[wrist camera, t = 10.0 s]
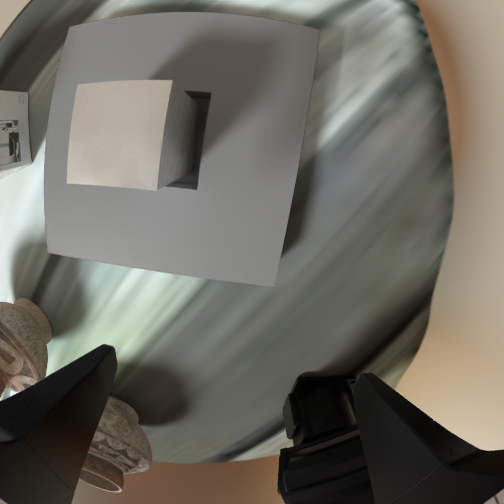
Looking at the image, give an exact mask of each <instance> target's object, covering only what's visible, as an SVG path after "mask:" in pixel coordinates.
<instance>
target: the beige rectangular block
mask: <svg viewBox="0 0 504 504" xmlns="http://www.w3.org/2000/svg"><path fill="white" fill-rule="evenodd" d="M202 111H203V109H202V108H201V107H200V106H199V105H198V104H197V103H196V102H195V101H194V100H193V99H192V98H191V97H190V96H189V95H188V94H187V93H186V92H185V91H183V90H182V89H181V88H180V87H179V86H178V85H177V84H176V83H175V82H174V81H173V80H125V81H108V82H96V83H86V84H78V85H77V90H76V96H75V101H74V107H73V114H72V121H71V129H70V138H69V149H68V163H67V183H68V184H85V185H99V186H111V187H123V188H134V189H144V190H154V191H157V190H159V189H161V188H163V187H164V186H166V185H168V184H170V183H172V182H174V181H175V180H177V179H179V178H181V177H183V176H185V175H187V174H189V173H190V172H192V171H194V163H195V156H196V149H197V142H198V136H199V129H200V123H201V117H202Z"/></svg>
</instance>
